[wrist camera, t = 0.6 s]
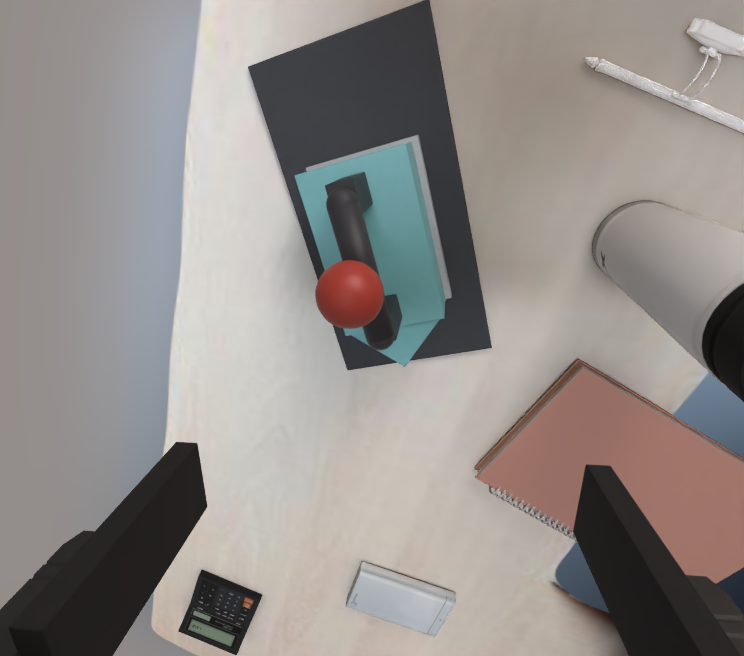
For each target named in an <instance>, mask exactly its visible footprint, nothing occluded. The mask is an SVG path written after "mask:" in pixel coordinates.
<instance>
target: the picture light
mask: <svg viewBox="0 0 744 656" xmlns="http://www.w3.org/2000/svg"><path fill="white" fill-rule="evenodd" d="M687 33H688V34H689V35H690V36H691V37H692V38H695V39H696V40H697V41H698V42H700V43H701V44H703V45H704V46H706V47H708V48H706V47H703V46H702V47H701V48H700V50H699V51H700V52H702V53H704V54H706V59H705V62H704V64H703V66H702V68H701V69H700V71H699V73H698V74H697V76H696V77H695V78H694V80H693V81H692V82H691V83H690V84H689V85H688V86H687V87H686V89H684V90H683V91H682V92H681V93H679V92H677V91H674V90H672V89H670V88H667V87H665V86H663V85H660V84H658V83H656V82H653V81H651V80H649V79H647V78H644V77H642V76H640V75H637V74H635V73H633V72H630V71H628V70H626V69H623V68H621V67H619V66H616V65H614V64H612V63H609V62H607V60H604V59H601V60H600V61H599V58H597V57H595V58H594V57H588V58H587V57H585V58H584V61H586V63H587V64H588V65H589V66H590V67H591V68H594V67H596V68H595V71H598V72H602V73H605V74H607V75H609V76H612V77H614V78H616V79H618V80H621V81H623V82H625V83H628V84H630V85H632V86H635V87H637V88H639V89H642V90H644V91H646V92H649V93H651V94H653V95H656V96H658V97H660V98H663V99H665V100H667V101H670V102H672V103H674V104H677V105H679V106H681V107H684V108H686V109H688V110H691V111H693V112H695V113H698V114H700V115H702V116H705V117H707V118H709V119H712V120H714V121H716V122H719V123H721V124H723V125H726V126H728V127H730V128H733V129H735V130H737V131H740V132H742V133H744V120H742V119H740V118H737V117H735V116H733V115H730V114H728V113H726V112H723V111H721V110H719V109H716V108H714V107H712V106H709V105H707V104H705V103H702V102H700V101H698V100H695V99H694V98H695V97H697V96H698V95H699V94H700V93H701V92H702V91H703V90H704V89H705V87H706V86H707V85H708V84H709V83H710V81H711V80H712V78H713V77H714V75H715V74H716V72H717V70H718V68H719V65H720V62H721V58H720V57H721V56H722V54H719V53H717V51H718V52H721V53H724V54H730V55H738V56H742V57H744V36H742V35H740V34H737V33H735V32H733V31H731V30H728V29H726V28H724V27H721V26H719V25H717V24H715V23H713V22H712V21H709V20H702V19H699V18H695V19H694V20H693V22H692V23H691V25H690V27H689V28H688V30H687ZM708 56H711V57H713V58H716V59H718V64H717V67H716V69H715V71H714V73H713V75H712V77H711V78H710V79H709V81H708V82H707V83H706V85H705V86H704V87H703V88H702V89H701V90H700V91H699V92H698V93H697V94H696V95H695V96H694V97H692V98H691V97H688V96H686V95H684V94H682V93H684V92H685V91H686V90H687V89H688V88H689V87H690V86H691V85H692V84H693V82H694V81H695V80H696V79H697V77H698V76H699V75H700V73H701V72H702V70H703V68H704V66H705V64H706V62H707V59H708Z"/></svg>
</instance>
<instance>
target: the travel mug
mask: <svg viewBox="0 0 744 656" xmlns="http://www.w3.org/2000/svg"><path fill="white" fill-rule="evenodd" d="M593 256H594V260H595V262H596V263H597V265H598V267H599V268H600V269H601V270H602V271H603V272H604V273H605V274H606V275H607V276H608V277H609V278H610V279H611V280H612V281H613V282H614V283H615V284H616V285H618V286H619V287H620V288H621V289H622V290H623V291H624V292H625V293H626V294H627V295H628V296H629V297H630V298H631V299H632V300H633V301H634V302H636V303H637V304H638V305H639V306H640V307H641V308H642V309H643V310H644V311H645V312H646V313H647V314H648V315H649V316H650V317H651V318H652V319H654V320H655V321H656V322H657V323H658V324H659V325H660V326H661V327H662V328H663V329H664V330H665V331H666V332H667V333H668V334H669V335H670V336H672V337H673V338H674V339H675V340H676V341H677V342H678V343H679V344H680V345H681V346H682V347H683V348H684V349H685V350H686V351H687V352H689V353H690V354H691V355H692V356H693V357H694V358H695V359H696V360H697V361H698V362H699V363H700V364H701V365H702V366H703V367H704V368H706V369H707V370H708V371H709V372H710V373H711V374H712V375H713V376H714V377H715V378H717V379H718V380H720V381H721V382H722V383H724V384H725V385H726V386H727V387H728V388H729V389H730V390H731V391H732V392H733V393H734V394H736V395H737V396H738V397H739V398H740V399H741V400H742V401H743V402H744V232H741V231H738V230H735V229H733V228H730V227H727V226H724V225H721V224H719V223H716V222H713V221H710V220H707V219H704V218H702V217H699V216H696V215H693V214H690V213H687V212H685V211H682V210H679V209H676V208H673V207H671V206H667V205H665V204H662V203H659V202H654V201H637V202H632V203H629V204H627V205H624V206H622V207H620V208H618V209H617V210H615V211H614V212H612V213H611V214H610V215H609V216H608V217H607V218H606V219H605V220H604V221H603V222H602V223H601V225H600V226H599V228H598V230H597V232H596V234H595V237H594V241H593Z"/></svg>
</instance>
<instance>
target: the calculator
mask: <svg viewBox="0 0 744 656" xmlns="http://www.w3.org/2000/svg"><path fill="white" fill-rule="evenodd" d="M261 597H262V595H261V594H259V593H257V592H254V591H252V590H249V589H247V588H244V587H242V586H240V585H237V584H235V583H232V582H230V581H228V580H225V579H223V578H220V577H218V576H216V575H213V574H211V573H208V572H206V571H204V570H202V571H201V573H200V574H199V577H198V580H197V583H196V586H195V590H194V593H193V596H192V600H191V603H190V605H189V608H188V610H187V612H186V615H185V617H184V619H183V622H182V624H181V626H180V628H179V632H181V633H184V634H186V635H189V636H191V637H193V638H196V639H198V640H201V641H203V642H206V643H208V644H210V645H213V646H215V647H218V648H220V649H222V650H225V651H227V652H230V653H232V654H235V655H237V653H238V651H239V648H240V646H241V643H242V641H243V639H244V636H245V634H246V632H247V629H248V627H249V625H250V622H251V620H252V618H253V616H254V613H255V611H256V609H257V607H258V604H259V602H260V600H261Z"/></svg>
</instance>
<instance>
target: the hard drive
mask: <svg viewBox="0 0 744 656" xmlns="http://www.w3.org/2000/svg"><path fill="white" fill-rule="evenodd" d="M455 600H456V593H454V592H451V591H448V590H445V589H442V588H439V587H436V586H433V585H430V584H427V583H424V582H421V581H418V580H415V579H412V578H410V577H407V576H404V575H401V574H398V573H395V572H392V571H389V570H386V569H383V568H380V567H377V566H374V565H371V564H368V563H365V562H361V565H360V567H359V570H358V572H357V575H356V577H355V580H354V582H353V585H352V587H351V590H350V592H349V595H348V597H347V602H346V607H349V608H351V609H354V610H357V611H360V612H363V613H366V614H369V615H372V616H375V617H378V618H380V619H383V620H386V621H389V622H392V623H395V624H398V625H401V626H404V627H407V628H410V629H413V630H416V631H418V632H421V633H424V634H428V635H431V636H434V637H435V636H436V634H437V633H438V631H439V629H440V628H441V626H442V624H443V623H444V621H445V619H446V618H447V616H448V614H449V613H450V611H451V609H452V608H453V606H454V604H455Z"/></svg>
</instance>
